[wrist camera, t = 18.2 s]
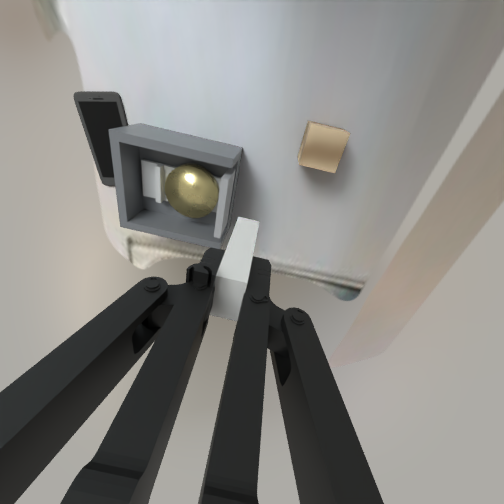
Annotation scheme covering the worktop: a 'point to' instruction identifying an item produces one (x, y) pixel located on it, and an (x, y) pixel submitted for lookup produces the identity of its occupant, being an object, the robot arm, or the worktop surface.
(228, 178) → the grey i-beam
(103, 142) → the cell phone
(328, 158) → the pedestal
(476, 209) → the worktop surface
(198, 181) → the disc
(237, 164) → the box
